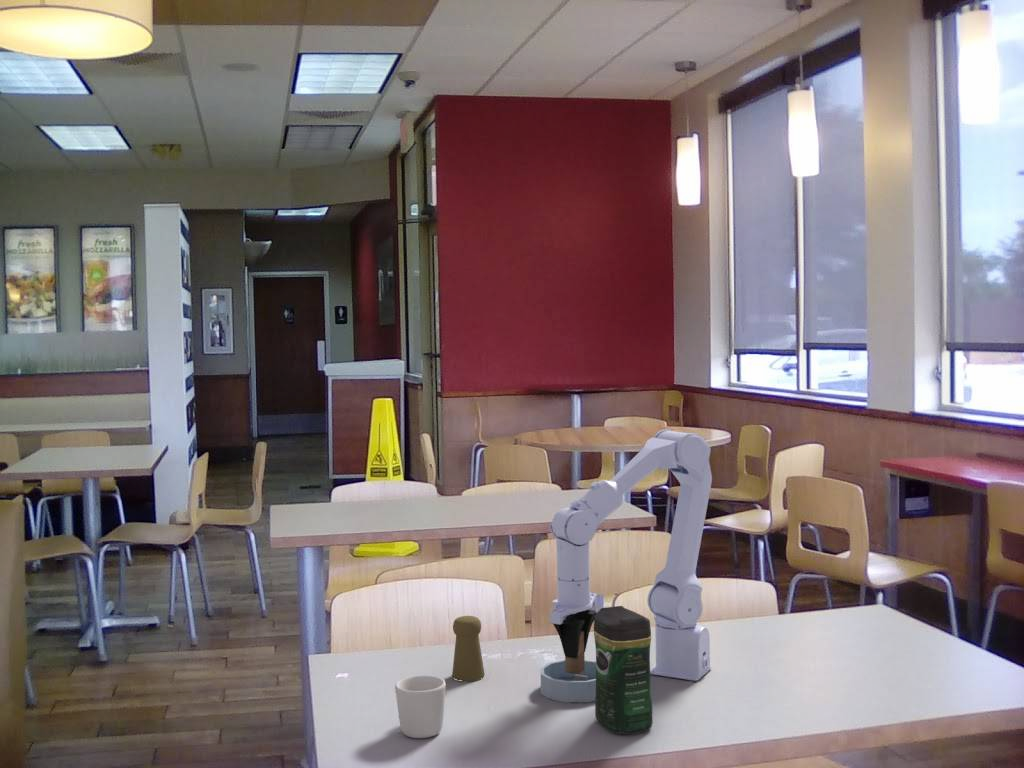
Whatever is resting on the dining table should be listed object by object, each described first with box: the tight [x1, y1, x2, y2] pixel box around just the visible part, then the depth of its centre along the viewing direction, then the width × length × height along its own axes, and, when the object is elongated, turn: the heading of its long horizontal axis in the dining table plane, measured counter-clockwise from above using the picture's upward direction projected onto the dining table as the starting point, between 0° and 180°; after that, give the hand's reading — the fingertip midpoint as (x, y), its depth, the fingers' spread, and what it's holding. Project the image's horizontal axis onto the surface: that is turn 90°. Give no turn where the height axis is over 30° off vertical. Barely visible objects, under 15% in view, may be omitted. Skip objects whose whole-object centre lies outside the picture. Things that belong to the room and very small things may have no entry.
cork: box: [451, 615, 486, 682], centre depth 192 cm, size 6×6×11 cm
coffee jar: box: [593, 605, 654, 735], centre depth 167 cm, size 10×8×19 cm
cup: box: [394, 674, 447, 739], centre depth 167 cm, size 11×8×8 cm
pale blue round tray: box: [539, 659, 596, 704], centre depth 184 cm, size 12×12×4 cm
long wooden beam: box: [564, 631, 586, 674], centre depth 184 cm, size 2×2×7 cm
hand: (575, 654), depth 184 cm, fingers closed on long wooden beam, 2 cm apart
